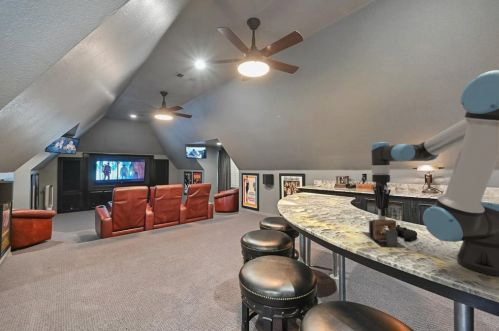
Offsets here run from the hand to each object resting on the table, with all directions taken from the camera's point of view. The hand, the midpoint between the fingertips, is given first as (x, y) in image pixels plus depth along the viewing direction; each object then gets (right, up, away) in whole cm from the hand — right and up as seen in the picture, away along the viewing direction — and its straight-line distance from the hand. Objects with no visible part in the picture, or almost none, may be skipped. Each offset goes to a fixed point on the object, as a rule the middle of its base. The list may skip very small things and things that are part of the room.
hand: (382, 222), depth 107 cm
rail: (0, -9, 0) cm, 9 cm away
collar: (0, -9, -2) cm, 9 cm away
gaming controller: (+12, -9, +4) cm, 16 cm away
